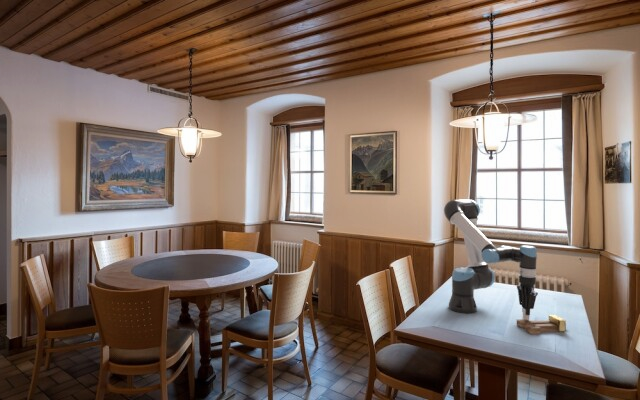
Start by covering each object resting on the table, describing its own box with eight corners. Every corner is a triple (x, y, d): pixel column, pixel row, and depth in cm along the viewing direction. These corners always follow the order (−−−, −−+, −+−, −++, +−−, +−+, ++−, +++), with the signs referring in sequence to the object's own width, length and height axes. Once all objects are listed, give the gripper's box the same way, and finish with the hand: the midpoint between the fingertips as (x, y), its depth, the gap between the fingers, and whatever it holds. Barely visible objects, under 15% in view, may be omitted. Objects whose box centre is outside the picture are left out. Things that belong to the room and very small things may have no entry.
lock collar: (548, 325, 181) (548, 315, 180) (553, 325, 181) (554, 314, 181) (559, 331, 173) (560, 320, 173) (565, 331, 174) (565, 320, 174)
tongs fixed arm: (524, 330, 176) (525, 324, 175) (559, 328, 178) (559, 323, 178) (530, 334, 171) (531, 328, 171) (565, 332, 173) (566, 326, 173)
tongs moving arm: (516, 324, 183) (516, 319, 182) (558, 324, 183) (559, 319, 183) (523, 329, 176) (523, 324, 176) (567, 328, 177) (567, 323, 177)
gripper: (512, 272, 190) (511, 315, 192) (529, 279, 177) (527, 325, 179) (525, 272, 191) (524, 315, 192) (543, 279, 178) (541, 325, 179)
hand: (525, 320), depth 185 cm, fingers closed
